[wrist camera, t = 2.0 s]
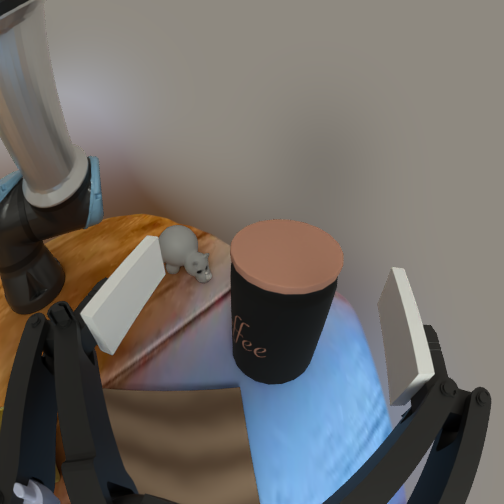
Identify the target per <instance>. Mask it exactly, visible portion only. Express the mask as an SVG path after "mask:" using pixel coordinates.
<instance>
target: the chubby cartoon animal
mask: <svg viewBox="0 0 504 504" xmlns="http://www.w3.org/2000/svg"><path fill="white" fill-rule="evenodd" d="M159 245H160V250H161V255H162V260H163V263H165V262H166V270H167V272H168V273H170V274H176V273H178V271H179V269H180V266H185V269H186V271H187V272H188V273H189V274H190V275H192V276H195V277H196V279H197V280H198V281H199V282H201V283H206V282H208V281H209V280H210V279H211V278H212V275H211V272H210V269H209V264H208V256H209V253H206V254H203V253H200V252H198V241H197V238H196V236H195V234H194V233H193V232H192V231H191V230H190V229H189V228H187V227H185V226H181V225H175V226H171V227H167V228H166V229H165V230H164V231H163V232H162V234H161V235H160V237H159Z"/></svg>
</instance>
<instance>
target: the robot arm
mask: <svg viewBox="0 0 504 504" xmlns="http://www.w3.org/2000/svg"><path fill="white" fill-rule="evenodd" d="M45 1H46V0H0V138H1V140H2V141H3V143H4V145H5V147H6V149H7V150H8V152H9V154H10V156H11V158H12V159H13V161H14V163H15V164H16V166H17V168H18V169H19V170H18V171H15V172H12V173H10V174H9V175H7V176H5V177H4V178H2V179H0V276H1V280H2V284H3V288H4V292H5V298H6V300H7V302H8V304H9V305H10V307H11V309H12V310H13V311H14V312H16V313H19V314H30V313H33V312H36V311H38V310H40V309H42V308H44V307H45V306H46V305H48V304H49V303H50V302H51V301H52V300H53V299H54V298H55V297H56V296H57V295H58V293H59V292H60V290H61V289H62V287H63V284H64V281H65V274H64V271H63V269H62V266H61V264H60V262H59V261H58V260H57V259H56V258H55V257H53V255H52V254H51V252H50V251H49V250H48V249H47V247H46V246H45V245H44V243H43V241H42V240H45V239H48V238H52V237H55V236H58V235H62V234H65V233H69V232H72V231H76V230H80V229H87V228H88V227H90V226H93V225H96V224H99V223H100V222H101V221H102V219H103V216H104V212H103V203H102V192H101V182H100V170H99V169H100V168H99V159H98V158H97V157H96V156H95V157H92V156H89V157H87V156H86V154H85V152H84V150H83V149H82V148H80V147H79V146H77V145H75V144H72V142H71V139H70V136H69V133H68V130H67V127H66V123H65V120H64V116H63V112H62V109H61V105H60V101H59V97H58V93H57V89H56V85H55V80H54V75H53V71H52V66H51V60H50V54H49V49H48V41H47V33H46V26H45V14H44V3H45ZM23 177H24V178H23ZM164 276H165V270H164V265H163V260H162V255H161V250H160V245H159V239H158V237H155V236H146V237H145V238H144V239H143V240H142V242H141V243H140V244H139V245H138V246H137V247H136V248H135V249H134V250H133V251H132V252H131V254H130V255H129V256H128V257H127V258H126V259H125V260H124V261H123V262H122V264H121V265H120V266H119V267H118V268H117V269H116V270H115V272H114V273H113V274H112V275H111V276H110V277H109V278H104V279H102V280H101V281H99V282H98V283H97V284H96V285H95V286H94V288H93V289H92V291H90V292H89V293H88V296H86V297H85V298H84V299H83V301H82V302H81V303H80V304H79V306H78V307H77V308H76V309H75V311H74V312H73V311H72V309H71V307H70V305H69V304H68V303H67V302H65V301H60V302H57V303H55V304H53V305H52V306H51V307H50V308H49V310H48V313H47V315H48V317H49V318H50V320H47V319H46V317H45V316H44V314H42V313H36V314H34V315H32V316H31V317H30V318H29V319H28V321H27V323H26V325H25V328H24V331H23V334H22V337H21V340H20V343H19V346H18V350H17V353H16V356H15V360H14V363H13V367H12V371H11V375H10V379H9V384H8V388H7V393H6V398H5V403H4V409H3V415H2V422H1V430H0V504H60V501H59V499H58V498H57V497H55V496H54V494H53V493H54V488H55V471H56V469H55V446H56V424H57V412H58V417H59V424H60V430H61V436H62V441H63V446H64V451H65V456H66V460H65V461H64V462H63V463H62V466H61V469H62V475H63V478H64V482H65V486H66V489H67V493H68V496H69V499H70V502H71V504H179V503H176V502H173V501H170V500H167V499H165V498H161V497H157V496H153V495H150V494H146V493H145V494H139V493H138V490H137V488H136V486H135V484H134V481H133V480H132V478H131V477H130V475H129V474H128V473H127V471H126V470H125V467H124V465H123V462H122V459H121V456H120V453H119V450H118V447H117V444H116V440H115V437H114V434H113V430H112V427H111V423H110V419H109V415H108V411H107V407H106V403H105V398H104V394H103V389H102V384H101V379H100V374H99V368H98V362H97V355H96V351H95V349H94V348H95V346H96V345H97V344H98V346H99V348H100V349H101V351H103V352H106V353H108V354H111V355H113V354H114V352H115V351H116V349H117V348H118V346H119V344H120V343H121V341H122V339H123V338H124V336H125V335H126V333H127V332H128V330H129V328H130V327H131V325H132V324H133V322H134V321H135V319H136V317H137V316H138V314H139V313H140V311H141V310H142V308H143V307H144V305H145V304H146V302H147V301H148V299H149V298H150V296H151V295H152V293H153V292H154V290H155V289H156V287H157V286H158V284H159V283H160V281H161V280H162V278H163V277H164ZM377 306H378V311H379V317H380V323H381V329H382V335H383V342H384V348H385V357H386V365H387V375H388V385H389V397H390V406H400V405H405V404H407V402H409V401H410V400H411V407H410V408H409V409H408V410H407V411H406V412H405V413H404V414H403V415H402V417H403V418H402V419H401V420H400V422H399V423H398V424H397V426H396V427H395V428H394V430H393V431H392V432H391V433H390V435H389V436H388V437H387V438H386V439H385V441H384V442H383V443H382V444H381V445H380V447H379V448H378V449H377V450H376V451H375V452H374V454H373V455H372V456H371V457H370V458H369V459H368V460H367V461H366V462H365V463H364V465H363V466H362V467H361V468H360V469H359V470H358V471H357V472H356V473H355V474H354V475H353V476H352V477H351V478H350V479H349V480H348V481H347V482H346V483H345V484H344V485H343V486H341V487H340V488H339V489H338V490H337V491H336V492H335V493H334V494H333V495H332V496H330V497H329V498H328V499H327V500H326V501H325V502H323V503H322V504H387V503H388V502H389V500H390V499H391V498H392V497H393V496H394V495H395V493H396V492H397V491H398V490H399V489H400V487H401V486H402V485H403V484H404V482H405V481H406V480H407V479H408V477H409V476H410V475H411V473H412V472H413V471H414V469H415V468H416V466H417V465H418V464H419V462H420V461H421V459H422V457H423V456H424V455H425V453H426V452H427V450H428V449H429V447H430V446H431V444H432V443H433V441H434V443H433V446H432V449H431V451H430V454H429V457H428V459H427V462H426V464H425V466H424V469H423V471H422V474H421V476H420V478H419V480H418V482H417V484H416V486H415V489H414V491H413V493H412V495H411V497H410V498H409V500H408V502H407V504H465V502H466V500H467V497H468V495H469V492H470V489H471V487H472V484H473V481H474V478H475V475H476V472H477V468H478V465H479V461H480V458H481V454H482V450H483V446H484V441H485V437H486V432H487V427H488V421H489V415H490V409H491V397H490V394H489V392H488V391H487V390H486V389H485V388H483V387H478V388H475V390H473V391H472V392H468V391H465V390H461V389H459V388H458V387H457V384H456V383H455V382H454V381H453V380H452V379H451V378H449V377H448V375H447V371H446V367H445V362H444V358H443V355H442V351H441V347H440V344H439V340H438V337H437V333H436V332H435V330H434V329H433V328H432V326H431V325H423V324H422V321H421V317H420V314H419V311H418V308H417V305H416V301H415V298H414V296H413V292H412V289H411V287H410V284H409V281H408V278H407V275H406V273H405V270H404V269H403V268H395V267H392V268H391V271H390V273H389V276H388V279H387V281H386V284H385V286H384V289H383V291H382V294H381V296H380V299H379V301H378V304H377ZM42 351H43V352H44V353H43V356H41V355H42ZM434 439H435V440H434Z"/></svg>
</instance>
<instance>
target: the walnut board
mask: <svg viewBox="0 0 504 504" xmlns="http://www.w3.org/2000/svg"><path fill="white" fill-rule="evenodd" d="M103 394H104V398H105V403H106V407H107V411H108V415H109V419H110V423H111V427H112V430H113V434H114V437H115V440H116V444H117V447H118V450H119V453H120V456H121V459H122V462H123V465H124V467H125V470H126V471H127V473H128V474H129V475H130V477H131V478H132V480H133V481H134V484H135V486H136V488H137V490H138V493H139V494H145V493H146V494H150V495H153V496H157V497H161V498H165V499H167V500H170V501H173V502H176V503H179V504H260V501H259V496H258V491H257V485H256V480H255V475H254V469H253V463H252V458H251V452H250V446H249V440H248V434H247V428H246V422H245V416H244V410H243V403H242V397H241V390H240V387H238V388H226V389H212V390H192V391H136V390H117V389H104V388H103Z"/></svg>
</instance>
